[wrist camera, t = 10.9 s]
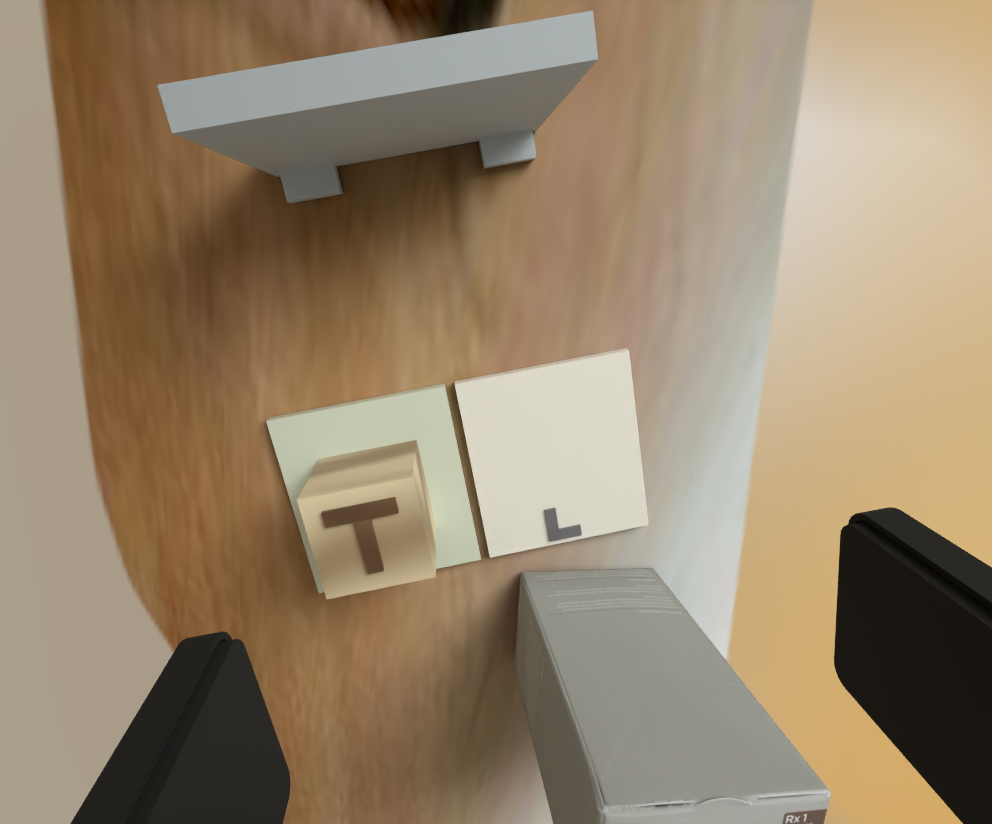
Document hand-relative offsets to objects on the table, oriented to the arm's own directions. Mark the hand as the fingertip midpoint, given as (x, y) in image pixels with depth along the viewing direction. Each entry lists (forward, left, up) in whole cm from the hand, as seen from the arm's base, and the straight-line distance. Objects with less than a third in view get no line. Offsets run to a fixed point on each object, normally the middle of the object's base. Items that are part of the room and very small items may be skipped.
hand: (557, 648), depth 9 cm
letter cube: (+6, -6, -21) cm, 23 cm away
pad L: (+6, +3, -22) cm, 23 cm away
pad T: (+6, -6, -22) cm, 23 cm away
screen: (-11, -1, -22) cm, 24 cm away
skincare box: (+16, +4, -22) cm, 27 cm away
